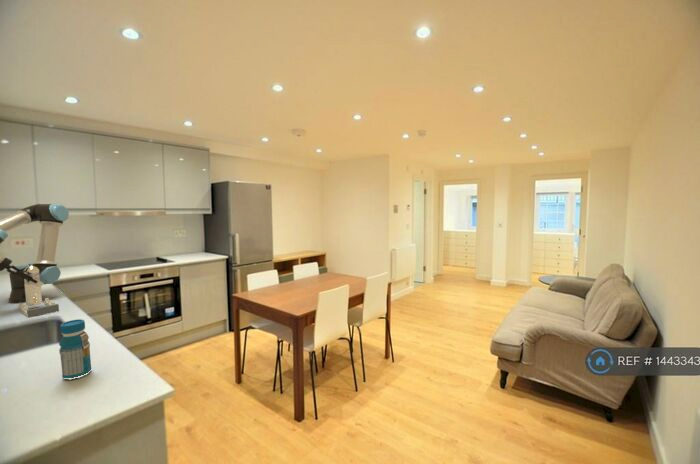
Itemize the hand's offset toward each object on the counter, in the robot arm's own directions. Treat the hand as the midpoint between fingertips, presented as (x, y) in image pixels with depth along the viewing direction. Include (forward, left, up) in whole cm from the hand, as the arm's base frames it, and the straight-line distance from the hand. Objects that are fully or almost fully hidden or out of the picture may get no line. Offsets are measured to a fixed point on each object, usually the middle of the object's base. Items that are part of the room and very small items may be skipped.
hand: (40, 284), depth 194 cm
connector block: (+13, +12, -14) cm, 23 cm away
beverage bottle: (+80, +88, -14) cm, 120 cm away
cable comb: (+6, +3, -14) cm, 16 cm away
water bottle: (+3, -2, -12) cm, 12 cm away
